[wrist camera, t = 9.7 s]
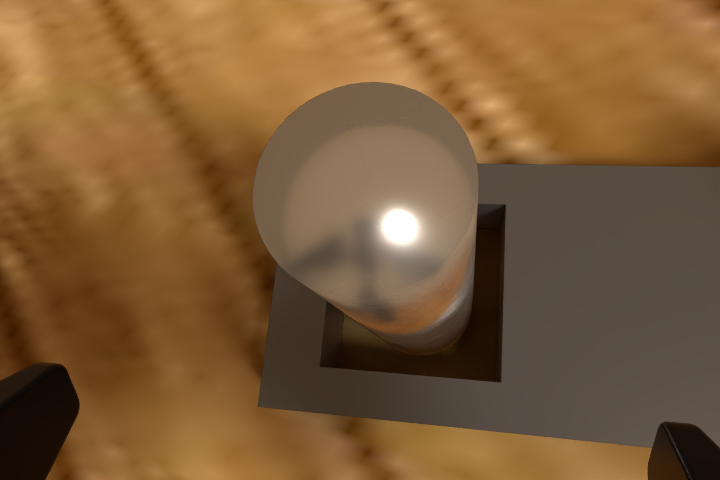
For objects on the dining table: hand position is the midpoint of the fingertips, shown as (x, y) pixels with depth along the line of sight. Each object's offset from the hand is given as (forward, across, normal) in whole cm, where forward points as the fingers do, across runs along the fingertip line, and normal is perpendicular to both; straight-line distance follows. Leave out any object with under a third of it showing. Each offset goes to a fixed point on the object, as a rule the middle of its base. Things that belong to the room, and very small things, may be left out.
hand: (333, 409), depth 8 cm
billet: (+12, 0, +7) cm, 14 cm away
